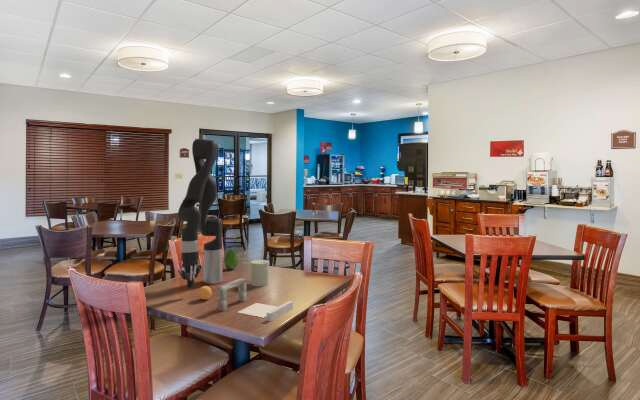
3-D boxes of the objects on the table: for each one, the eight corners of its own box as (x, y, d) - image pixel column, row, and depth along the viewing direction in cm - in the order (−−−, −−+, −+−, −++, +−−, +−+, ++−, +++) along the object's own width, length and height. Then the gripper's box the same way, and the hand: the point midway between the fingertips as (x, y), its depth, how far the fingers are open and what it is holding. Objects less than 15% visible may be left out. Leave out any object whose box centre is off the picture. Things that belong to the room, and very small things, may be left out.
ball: (195, 300, 173) (194, 287, 173) (204, 296, 178) (204, 283, 178) (205, 302, 170) (204, 288, 170) (214, 298, 176) (214, 285, 175)
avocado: (233, 271, 226) (233, 250, 225) (221, 270, 228) (221, 249, 228) (240, 268, 233) (240, 248, 233) (229, 267, 236) (228, 247, 235)
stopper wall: (266, 320, 149) (266, 312, 149) (288, 307, 164) (288, 300, 163) (270, 321, 148) (270, 313, 148) (292, 308, 163) (292, 301, 162)
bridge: (218, 309, 161) (218, 286, 160) (241, 299, 174) (241, 278, 174) (223, 310, 160) (223, 287, 159) (246, 300, 173) (246, 279, 172)
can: (265, 287, 194) (265, 263, 193) (248, 285, 196) (248, 262, 195) (271, 282, 203) (271, 259, 202) (255, 281, 205) (254, 258, 204)
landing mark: (237, 312, 158) (237, 312, 158) (256, 303, 169) (256, 302, 169) (263, 318, 152) (263, 317, 152) (281, 308, 163) (281, 307, 163)
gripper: (194, 247, 185) (194, 283, 185) (172, 251, 173) (173, 290, 173) (206, 248, 181) (206, 285, 182) (185, 253, 169) (186, 292, 170)
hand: (190, 287), depth 178 cm, fingers closed
